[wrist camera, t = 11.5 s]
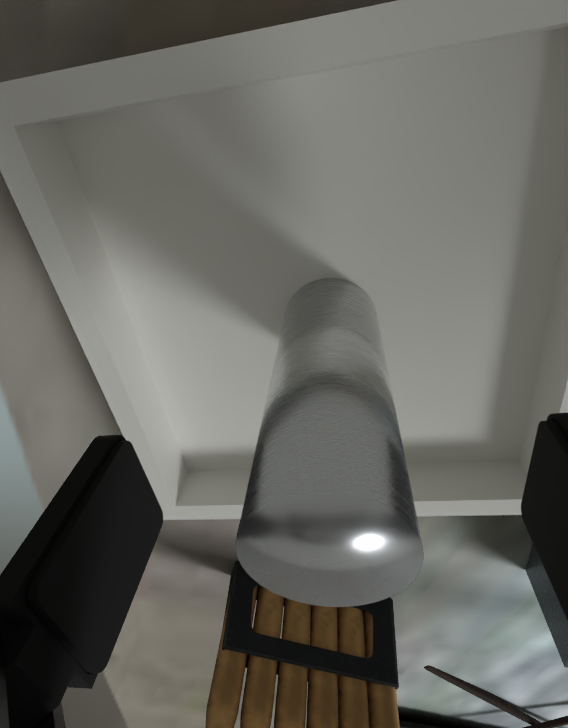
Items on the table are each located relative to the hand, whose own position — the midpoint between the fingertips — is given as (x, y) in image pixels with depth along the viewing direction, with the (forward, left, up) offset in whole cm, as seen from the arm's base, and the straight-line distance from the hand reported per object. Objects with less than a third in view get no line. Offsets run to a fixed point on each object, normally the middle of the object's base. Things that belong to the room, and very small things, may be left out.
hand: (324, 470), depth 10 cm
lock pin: (0, 0, -8) cm, 8 cm away
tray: (0, 0, -9) cm, 9 cm away
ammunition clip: (+3, +20, -9) cm, 22 cm away
